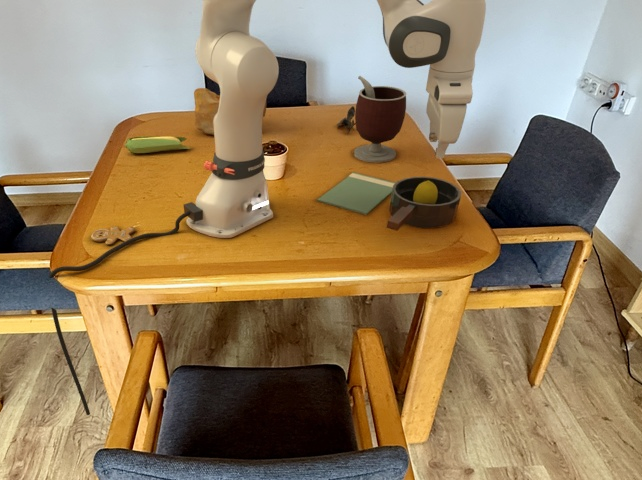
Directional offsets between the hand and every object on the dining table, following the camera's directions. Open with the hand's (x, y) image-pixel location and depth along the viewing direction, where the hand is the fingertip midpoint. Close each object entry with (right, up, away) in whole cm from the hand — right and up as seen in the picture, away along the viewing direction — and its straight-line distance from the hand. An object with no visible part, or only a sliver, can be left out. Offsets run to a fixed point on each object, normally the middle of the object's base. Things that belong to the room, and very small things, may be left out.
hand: (435, 148), depth 120 cm
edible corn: (-70, +16, +44) cm, 85 cm away
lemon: (0, -12, +10) cm, 16 cm away
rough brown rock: (-49, +29, +58) cm, 81 cm away
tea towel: (-13, -4, +20) cm, 24 cm away
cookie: (-74, -19, +6) cm, 77 cm away
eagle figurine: (-11, +28, +55) cm, 62 cm away
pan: (0, -12, +11) cm, 16 cm away
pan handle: (-8, -16, 0) cm, 18 cm away
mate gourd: (-6, +14, +39) cm, 42 cm away
